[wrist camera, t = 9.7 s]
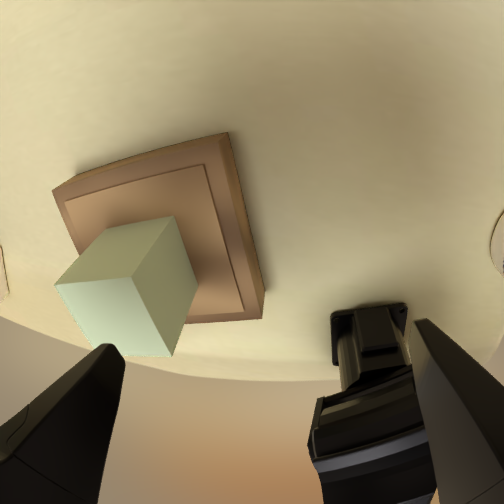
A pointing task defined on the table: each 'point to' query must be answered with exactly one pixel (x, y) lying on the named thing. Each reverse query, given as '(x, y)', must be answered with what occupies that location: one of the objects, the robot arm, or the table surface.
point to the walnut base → (178, 218)
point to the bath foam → (498, 246)
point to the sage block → (132, 288)
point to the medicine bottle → (2, 280)
